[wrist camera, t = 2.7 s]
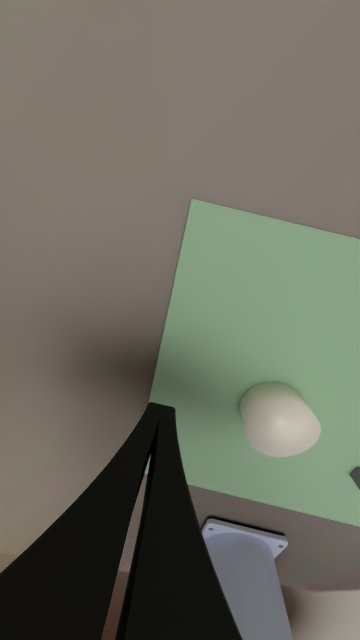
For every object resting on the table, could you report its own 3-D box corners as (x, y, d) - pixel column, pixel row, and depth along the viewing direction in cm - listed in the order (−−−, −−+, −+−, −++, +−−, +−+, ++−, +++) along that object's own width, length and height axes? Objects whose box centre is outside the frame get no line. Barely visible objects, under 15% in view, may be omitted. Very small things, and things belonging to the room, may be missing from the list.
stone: (283, 434, 14) (298, 464, 12) (230, 419, 13) (236, 446, 12) (314, 391, 12) (336, 418, 10) (254, 374, 12) (265, 398, 10)
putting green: (418, 537, 17) (422, 541, 17) (135, 467, 17) (134, 471, 17) (727, 329, 9) (744, 332, 9) (191, 199, 9) (191, 198, 9)
